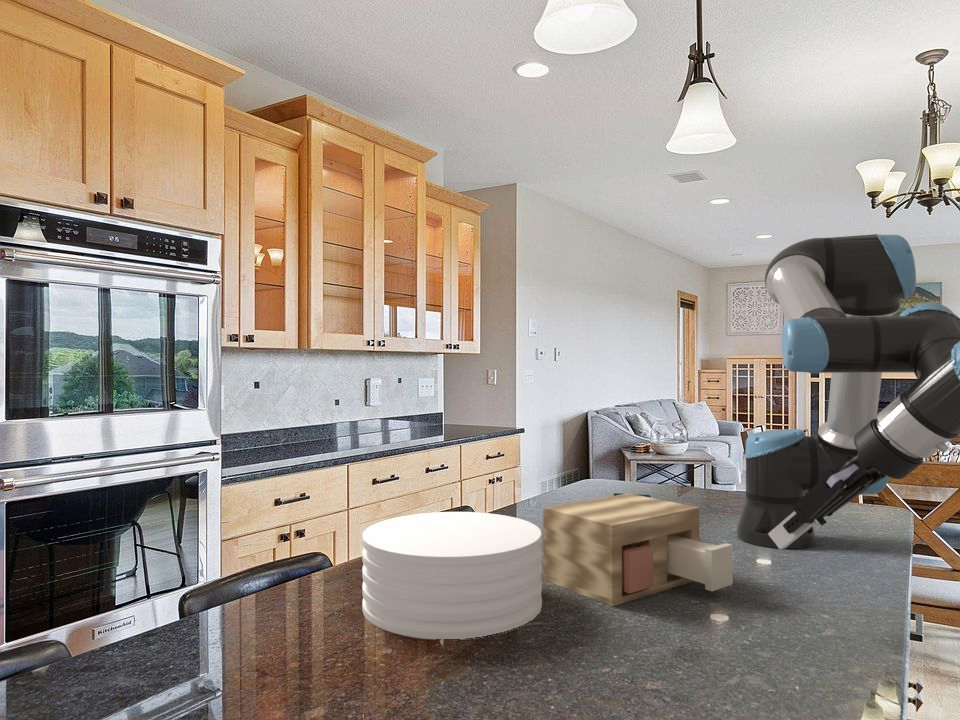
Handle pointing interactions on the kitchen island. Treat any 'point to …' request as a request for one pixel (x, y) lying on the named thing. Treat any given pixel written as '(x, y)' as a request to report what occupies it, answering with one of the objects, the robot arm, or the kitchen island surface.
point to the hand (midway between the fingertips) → (776, 540)
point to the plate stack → (451, 574)
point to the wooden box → (612, 543)
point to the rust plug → (637, 568)
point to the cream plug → (700, 561)
